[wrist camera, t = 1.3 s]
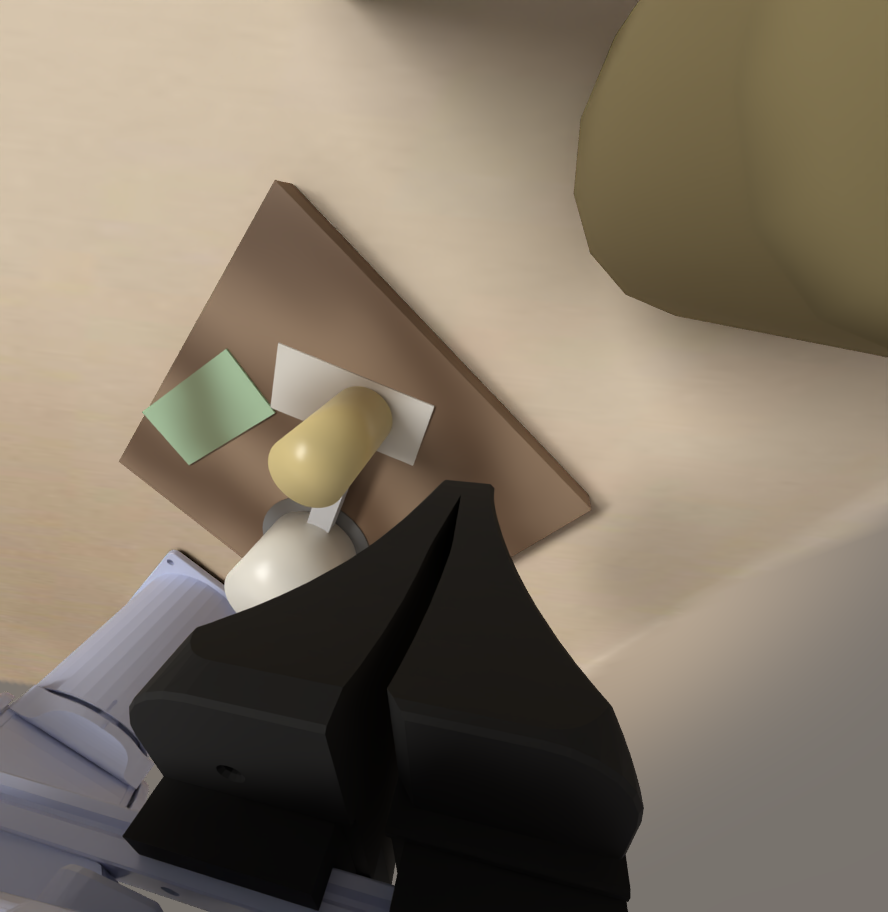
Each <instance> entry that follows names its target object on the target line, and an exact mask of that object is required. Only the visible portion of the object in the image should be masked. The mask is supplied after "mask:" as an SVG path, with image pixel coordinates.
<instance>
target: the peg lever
mask: <svg viewBox="0 0 888 912" xmlns="http://www.w3.org/2000/svg"><path fill="white" fill-rule="evenodd" d="M391 428H392V414H391V411H390V408H389V406H388V404H387V403H386V401H385V400H384V399H383V398H382V397H381V396H380V395H379V394H378V393H376V392H375V391H373V390H371V389H369V388H366V387H361V386H353V387H348V388H346V389H344V390H342V391H341V392H340V393H338V394H337V395H336V396H335V397H333V398H332V399H331V400H330V401H328V402H327V403H326V404H325V405H323V406H322V407H321V408H319V409H318V410H317V411H316V412H314V413H313V414H312V415H311V416H309V417H308V418H307V419H305V420H304V421H303V422H302V423H300V424H299V425H298V426H297V427H295V428H294V429H293V430H292V431H290V432H289V433H288V434H286V435H285V436H284V437H283V438H281V439H280V440H279V441H278V442H276V443H275V444H274V446H273V447H272V448H271V450H270V453H269V457H268V467H269V471H270V474H271V477H272V479H273V481H274V482H275V484H276V485H277V487H278V488H279V489H280V490H281V491H282V492H283V493H284V494H285V495H286V496H287V497H289V498H290V499H292V500H293V501H295V502H297V503H299V504H301V505H304V506H307V507H312V509H311V512H306V511H295V512H290V513H287V514H285V515H283V516H281V517H280V518H279V519H278V520H277V521H276V522H275V523H274V524H273V525H272V527H271V528H270V529H269V530H268V531H267V532H266V533H265V534H264V535H263V536H262V537H261V539H260V540H259V541H258V542H257V543H256V544H255V545H254V546H253V547H252V548H251V549H250V551H249V552H248V553H247V554H246V555H245V556H244V557H243V558H242V559H241V560H240V561H239V562H238V564H237V565H236V566H235V567H234V568H233V569H232V570H231V571H230V572H229V573H228V575H227V577H226V579H225V584H224V588H225V594H226V597H227V599H228V601H229V603H230V605H231V606H232V608H233V609H234V610H235V612H236V613H238V612H241V611H243V610H246V609H249V608H252V607H254V606H256V605H259V604H261V603H264V602H266V601H268V600H271V599H273V598H275V597H278V596H280V595H282V594H284V593H287V592H289V591H291V590H293V589H295V588H297V587H299V586H301V585H303V584H305V583H307V582H309V581H311V580H313V579H315V578H317V577H319V576H320V575H322V574H324V573H326V572H328V571H329V570H331V569H333V568H335V567H337V566H339V565H340V564H342V563H344V562H345V561H347V560H349V559H350V558H352V557H353V556H355V555H356V551H355V548H354V545H353V543H352V541H351V540H350V538H349V536H348V535H347V534H346V533H345V532H344V531H343V530H342V529H341V528H340V527H339V526H338V525H337V524H335V522H336V520H337V517H338V515H339V512H340V509H341V507H342V504H343V502H344V499H345V497H346V494H347V492H348V489H349V486H350V485H351V484H352V482H353V481H354V480H355V478H356V477H357V476H358V474H359V473H360V472H361V471H362V469H363V468H364V467H365V465H366V464H367V463H368V461H369V460H370V459H371V457H372V456H373V455H374V453H375V452H376V451H377V449H378V448H379V447H380V445H381V444H382V443H383V441H384V440H385V439H386V437H387V436H388V435H389V433H390V431H391Z"/></svg>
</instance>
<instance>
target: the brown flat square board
mask: <svg viewBox="0 0 888 912" xmlns="http://www.w3.org/2000/svg"><path fill="white" fill-rule="evenodd" d="M353 386H361V387H366V388H369V389H371V390H373V391H375V392H376V393H378V394H379V395H380V396H381V397H382V398H383V399H384V400H385V401H386V403H387V404H388V406H389V408H390V411H391V414H392V428H391V431H390V433H389V435H388V436H387V437H386V439H385V440H384V441H383V443H382V444H381V445H380V447H379V448H378V449H377V451H376V452H375V453H374V455H373V456H372V457H371V459H370V460H369V461H368V463H367V464H366V465H365V467H364V468H363V469H362V471H361V472H360V473H359V474H358V476H357V477H356V478H355V480H354V481H353V482H352V484H351V485H350V486H349V489H348V492H347V494H346V497H345V499H344V502H343V504H342V507H341V509H340V512H339V515H338V517H337V520H336V522H335V524H337V525H338V526H339V527H340V528H341V529H342V530H343V531H344V532H345V533H346V534H347V535H348V536H349V538H350V540H351V541H352V543H353V545H354V548H355V551H356V555H357V554H358V553H360V552H361V551H363V550H364V549H366V548H367V547H368V546H370V545H371V544H373V543H374V542H375V541H377V540H378V539H379V538H381V537H382V536H383V535H384V534H386V533H387V532H388V531H389V530H391V529H392V528H393V527H394V526H396V525H397V524H398V523H399V522H400V521H402V520H403V519H404V518H405V517H406V516H407V515H408V514H409V513H410V512H412V511H413V510H414V509H415V508H416V507H417V506H418V505H419V504H420V503H421V502H422V501H423V500H424V499H425V498H427V497H428V496H429V495H430V494H431V493H432V492H433V491H434V490H435V489H436V488H437V487H438V486H439V485H440V484H441V483H442V482H443V481H444V480H454V481H464V482H475V483H485V484H491V485H492V486H493V487H494V488H495V489H494V504H495V509H496V514H497V518H498V522H499V525H500V529H501V532H502V535H503V538H504V541H505V544H506V546H507V549H508V551H509V554H510V556H511V557H512V556H514V555H516V554H517V553H519V552H521V551H522V550H524V549H526V548H527V547H529V546H531V545H533V544H534V543H536V542H538V541H539V540H541V539H543V538H544V537H546V536H548V535H550V534H551V533H553V532H555V531H556V530H558V529H560V528H561V527H563V526H565V525H567V524H568V523H570V522H572V521H573V520H575V519H577V518H578V517H580V516H582V515H584V514H585V513H587V512H589V511H590V510H591V505H590V500H589V495H588V494H587V493H586V492H585V491H584V490H583V489H582V488H581V487H580V486H579V484H578V483H577V482H576V481H575V480H574V479H573V478H572V477H571V476H570V475H569V474H568V473H567V472H566V471H565V470H564V469H563V468H562V467H561V466H560V464H559V463H558V462H557V461H556V460H555V459H554V458H553V457H552V456H551V455H550V454H549V453H548V452H547V451H546V450H545V449H544V448H543V447H542V446H541V445H540V443H539V442H538V441H537V440H536V439H535V438H534V437H533V436H532V435H531V434H530V433H529V432H528V431H527V430H526V429H525V428H524V427H523V426H522V425H521V424H520V422H519V421H518V420H517V419H516V418H515V417H514V416H513V415H512V414H511V413H510V412H509V411H508V410H507V409H506V408H505V407H504V406H503V405H502V404H501V402H500V401H499V400H498V399H497V398H496V397H495V396H494V395H493V394H492V393H491V392H490V391H489V390H488V389H487V388H486V387H485V386H484V385H483V384H482V383H481V381H480V380H479V379H478V378H477V377H476V376H475V375H474V374H473V373H472V372H471V371H470V370H469V369H468V368H467V367H466V366H465V365H464V364H463V363H462V362H461V360H460V359H459V358H458V357H457V356H456V355H455V354H454V353H453V352H452V351H451V350H450V349H449V348H448V347H447V346H446V345H445V344H444V343H443V342H442V340H441V339H440V338H439V337H438V336H437V335H436V334H435V333H434V332H433V331H432V330H431V329H430V328H429V327H428V326H427V325H426V324H425V323H424V322H423V321H422V319H421V318H420V317H419V316H418V315H417V314H416V313H415V312H414V311H413V310H412V309H411V308H410V307H409V306H408V305H407V304H406V303H405V302H404V301H403V300H402V298H401V297H400V296H399V295H398V294H397V293H396V292H395V291H394V290H393V289H392V288H391V287H390V286H389V285H388V284H387V283H386V282H385V281H384V280H383V278H382V277H381V276H380V275H379V274H378V273H377V272H376V271H375V270H374V269H373V268H372V267H371V266H370V265H369V264H368V263H367V262H366V261H365V260H364V259H363V257H362V256H361V255H360V254H359V253H358V252H357V251H356V250H355V249H354V248H353V247H352V246H351V245H350V244H349V243H348V242H347V241H346V240H345V239H344V238H343V236H342V235H341V234H340V233H339V232H338V231H337V230H336V229H335V228H334V227H333V226H332V225H331V224H330V223H329V222H328V221H327V220H326V219H325V218H324V216H323V215H322V214H321V213H320V212H319V211H318V210H317V209H316V208H315V207H314V206H313V205H312V204H311V203H310V202H309V201H308V200H307V199H306V198H305V197H304V195H303V194H302V193H301V192H300V191H299V190H298V189H297V188H296V187H295V186H294V185H293V184H291V183H286V182H281V181H277V180H275V181H274V183H273V184H272V186H271V188H270V190H269V192H268V193H267V195H266V197H265V199H264V201H263V202H262V204H261V206H260V208H259V210H258V211H257V213H256V215H255V217H254V219H253V221H252V222H251V224H250V226H249V228H248V230H247V231H246V233H245V235H244V237H243V239H242V240H241V242H240V244H239V246H238V248H237V249H236V251H235V253H234V255H233V257H232V258H231V260H230V262H229V264H228V266H227V267H226V269H225V271H224V273H223V275H222V276H221V278H220V280H219V282H218V284H217V285H216V287H215V289H214V291H213V293H212V294H211V296H210V298H209V300H208V302H207V303H206V305H205V307H204V309H203V311H202V312H201V314H200V316H199V318H198V320H197V321H196V323H195V325H194V327H193V329H192V330H191V332H190V334H189V336H188V338H187V340H186V341H185V343H184V345H183V347H182V349H181V350H180V352H179V354H178V356H177V358H176V359H175V361H174V363H173V365H172V367H171V368H170V370H169V372H168V374H167V376H166V377H165V379H164V381H163V383H162V385H161V386H160V388H159V390H158V392H157V394H156V395H155V397H154V399H153V401H152V403H151V404H150V406H149V407H148V408H147V409H145V410H144V411H143V412H142V413H143V414H144V417H143V419H142V421H141V422H140V424H139V426H138V428H137V430H136V431H135V433H134V435H133V437H132V439H131V440H130V442H129V444H128V446H127V448H126V450H125V451H124V453H123V455H122V457H121V459H120V460H119V462H120V463H121V464H123V465H124V466H125V467H126V468H128V469H129V470H130V471H132V472H133V473H134V474H135V475H137V476H138V477H139V478H141V479H142V480H143V481H144V482H146V483H147V484H148V485H150V486H151V487H152V488H153V489H155V490H156V491H157V492H159V493H160V494H161V495H162V496H164V497H165V498H166V499H168V500H169V501H170V502H171V503H173V504H174V505H175V506H176V507H178V508H179V509H180V510H182V511H183V512H184V513H185V514H187V515H188V516H189V517H191V518H192V519H193V520H194V521H196V522H197V523H198V524H200V525H201V526H202V527H203V528H205V529H206V530H207V531H209V532H210V533H211V534H212V535H214V536H215V537H216V538H218V539H219V540H220V541H221V542H223V543H224V544H225V545H226V546H228V547H229V548H230V549H232V550H233V551H234V552H235V553H237V554H238V555H239V556H241V557H242V558H243V557H244V556H245V555H246V554H247V553H248V552H249V551H250V549H251V548H252V547H253V546H254V545H255V544H256V543H257V542H258V541H259V540H260V539H261V537H262V536H263V535H264V534H265V533H266V532H267V531H268V530H269V529H270V528H271V527H272V525H273V524H274V523H275V522H276V521H277V520H278V519H279V518H280V517H281V516H283V515H285V514H287V513H290V512H295V511H306V512H311V509H312V507H307V506H304V505H301V504H299V503H297V502H295V501H293V500H292V499H290V498H289V497H287V496H286V495H285V494H284V493H283V492H282V491H281V490H280V489H279V488H278V487H277V485H276V484H275V482H274V481H273V479H272V477H271V474H270V471H269V467H268V457H269V453H270V450H271V448H272V447H273V446H274V444H275V443H276V442H278V441H279V440H280V439H281V438H283V437H284V436H285V435H286V434H288V433H289V432H290V431H292V430H293V429H294V428H295V427H297V426H298V425H299V424H300V423H302V422H303V421H304V420H305V419H307V418H308V417H309V416H311V415H312V414H313V413H314V412H316V411H317V410H318V409H319V408H321V407H322V406H323V405H325V404H326V403H327V402H328V401H330V400H331V399H332V398H333V397H335V396H336V395H337V394H338V393H340V392H341V391H342V390H344V389H346V388H348V387H353Z"/></svg>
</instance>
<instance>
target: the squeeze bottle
mask: <svg viewBox="0 0 888 912" xmlns="http://www.w3.org/2000/svg"><path fill="white" fill-rule="evenodd" d="M574 196H575V200H576V203H577V207H578V211H579V214H580V218H581V221H582V225H583V229H584V232H585V236H586V239H587V243H588V247H589V250H590V253H591V255H592V256H593V257H594V258H595V259H596V260H597V262H598V263H599V264H600V265H601V266H602V267H603V269H604V270H605V271H606V272H607V273H608V274H609V276H610V277H611V278H612V279H613V280H614V281H615V283H616V284H617V285H618V286H619V287H620V288H621V290H622V291H623V292H624V293H625V294H626V295H628V296H630V297H633V298H635V299H638V300H640V301H642V302H645V303H647V304H649V305H652V306H654V307H656V308H659V309H661V310H663V311H666V312H668V313H671V314H673V315H675V316H680V317H685V318H690V319H695V320H700V321H705V322H711V323H716V324H721V325H726V326H731V327H736V328H741V329H746V330H751V331H756V332H762V333H767V334H772V335H777V336H782V337H787V338H792V339H797V340H802V341H807V342H813V343H818V344H823V345H828V346H833V347H838V348H843V349H848V350H853V351H858V352H863V353H869V354H874V355H879V356H884V357H888V0H639V2H638V3H637V5H636V6H635V7H634V9H633V10H632V12H631V13H630V15H629V16H628V18H627V19H626V21H625V22H624V24H623V25H622V27H621V28H620V30H619V31H618V33H617V34H616V36H615V38H614V40H613V43H612V45H611V47H610V50H609V52H608V55H607V57H606V59H605V62H604V64H603V67H602V69H601V71H600V74H599V76H598V79H597V81H596V83H595V86H594V88H593V91H592V93H591V95H590V98H589V100H588V103H587V105H586V107H585V110H584V112H583V115H582V117H581V120H580V131H579V142H578V153H577V164H576V175H575V186H574Z"/></svg>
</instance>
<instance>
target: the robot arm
mask: <svg viewBox="0 0 888 912" xmlns="http://www.w3.org/2000/svg"><path fill="white" fill-rule="evenodd" d="M494 489H495V488H494V487H493V486H492V485H491V484H485V483H475V482H464V481H454V480H444V481H443V482H442V483H441V484H440V485H439V486H438V487H437V488H436V489H435V490H434V491H433V492H432V493H431V494H430V495H429V496H428V497H427V498H425V499H424V500H423V501H422V502H421V503H420V504H419V505H418V506H417V507H416V508H415V509H414V510H413V511H412V512H410V513H409V514H408V515H407V516H406V517H405V518H404V519H403V520H402V521H400V522H399V523H398V524H397V525H396V526H394V527H393V528H392V529H391V530H389V531H388V532H387V533H386V534H384V535H383V536H382V537H381V538H379V539H378V540H377V541H375V542H374V543H373V544H371V545H370V546H368V547H367V548H366V549H364V550H363V551H361V552H360V553H358V554H357V555H355V556H353V557H352V558H350V559H349V560H347V561H345V562H344V563H342V564H340V565H339V566H337V567H335V568H333V569H331V570H329V571H328V572H326V573H324V574H322V575H320V576H319V577H317V578H315V579H313V580H311V581H309V582H307V583H305V584H303V585H301V586H299V587H297V588H295V589H293V590H291V591H289V592H287V593H284V594H282V595H280V596H278V597H275V598H273V599H271V600H268V601H266V602H264V603H261V604H259V605H256V606H254V607H252V608H249V609H246V610H243V611H241V612H238V613H236V612H235V610H234V609H233V608H232V606H231V605H230V603H229V601H228V599H227V597H226V594H225V588H224V585H223V584H222V583H221V582H219V581H218V580H217V579H215V578H214V577H213V576H211V575H210V574H209V573H207V572H206V571H205V570H203V569H202V568H201V567H199V566H198V565H197V564H195V563H194V562H193V561H191V560H190V559H189V558H188V557H186V556H185V555H184V554H182V553H181V552H179V551H178V550H171V551H170V552H169V553H168V554H167V555H166V556H165V557H164V558H163V560H162V561H161V562H160V563H159V565H158V566H157V567H156V568H155V570H154V571H153V572H152V573H151V575H150V576H149V577H148V578H147V579H146V581H145V582H144V583H143V584H142V586H141V587H140V588H139V589H138V591H137V592H136V593H135V594H134V596H133V597H132V598H131V599H130V600H129V602H128V603H127V604H126V605H125V606H124V607H123V608H122V609H120V610H119V611H118V612H117V613H116V614H115V615H114V616H113V617H112V618H110V619H109V620H108V621H107V622H106V623H105V624H104V625H103V626H101V627H100V628H99V629H98V630H97V631H96V632H95V633H94V634H93V635H91V636H90V637H89V638H88V639H87V640H86V641H85V642H84V643H82V644H81V645H80V646H79V647H78V648H77V649H76V650H75V651H73V652H72V653H71V654H70V655H69V656H68V657H67V658H66V659H65V660H63V661H62V662H61V663H60V664H59V665H58V666H57V667H56V668H54V669H53V670H52V671H51V672H50V673H49V674H48V675H47V676H46V677H44V678H43V679H42V680H41V681H40V682H39V683H38V684H37V685H34V686H33V687H32V688H30V689H29V690H28V691H27V692H25V693H24V694H23V695H22V696H20V697H19V698H18V699H17V700H16V701H14V702H13V703H12V704H11V705H10V706H9V705H7V704H8V703H10V702H11V701H12V700H13V699H14V698H15V696H13V695H12V694H10V693H8V692H2V693H1V694H0V912H163V910H162V909H161V907H160V905H159V904H158V903H157V902H155V901H153V900H151V899H149V898H147V897H145V896H143V895H141V894H139V893H137V892H135V891H133V890H131V889H128V888H127V887H125V886H123V885H120V884H119V883H118V881H119V882H122V883H125V884H128V885H131V886H134V887H137V888H140V889H143V890H146V891H149V892H152V893H155V894H158V895H161V896H164V897H167V898H170V899H173V900H176V901H179V902H182V903H185V904H188V905H191V906H194V907H197V908H200V909H203V910H206V911H209V912H628V909H627V902H628V901H629V899H630V883H629V876H628V869H627V861H626V852H627V850H628V848H629V846H630V844H631V842H632V840H633V838H634V836H635V834H636V832H637V830H638V828H639V826H640V824H641V821H642V815H643V809H644V807H643V802H642V796H641V791H640V787H639V783H638V779H637V775H636V772H635V769H634V765H633V762H632V758H631V755H630V752H629V750H628V747H627V744H626V741H625V738H624V735H623V733H622V730H621V728H620V725H619V723H618V720H617V718H616V715H615V713H614V710H613V708H612V706H611V705H610V704H609V702H608V701H607V700H606V699H605V698H604V697H603V696H602V694H601V693H600V692H599V691H598V690H597V689H596V687H595V686H594V685H593V684H592V683H591V681H590V680H589V679H588V678H587V676H586V675H585V674H584V673H583V672H582V670H581V669H580V668H579V667H578V665H577V664H576V663H575V662H574V660H573V659H572V658H571V656H570V655H569V654H568V652H567V651H566V650H565V648H564V647H563V646H562V644H561V643H560V641H559V640H558V639H557V637H556V636H555V634H554V633H553V631H552V630H551V628H550V627H549V625H548V624H547V622H546V621H545V619H544V618H543V616H542V614H541V613H540V611H539V610H538V608H537V607H536V605H535V603H534V602H533V600H532V598H531V596H530V595H529V593H528V591H527V589H526V588H525V586H524V584H523V582H522V580H521V578H520V576H519V574H518V572H517V570H516V568H515V565H514V563H513V561H512V559H511V556H510V554H509V551H508V549H507V546H506V544H505V541H504V538H503V535H502V532H501V529H500V525H499V522H498V518H497V514H496V509H495V504H494ZM149 756H150V757H151V758H152V760H153V761H154V762H153V761H151V760H150V759H149V758H148V757H149ZM154 763H155V764H156V765H157V767H158V769H159V770H160V771H161V773H162V774H163V776H164V777H163V778H162V780H161V781H160V782H159V784H158V785H157V787H156V788H155V790H154V791H153V793H152V794H151V795H150V797H149V798H148V800H147V796H148V792H149V785H148V784H147V782H146V781H144V780H143V779H144V778H145V776H146V775H147V774H148V772H149V771H150V770H151V768H152V767H153V765H154ZM395 862H396V868H397V873H398V874H397V878H396V883H395V886H394V885H392V879H393V873H394V868H395ZM626 901H627V902H626Z"/></svg>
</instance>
